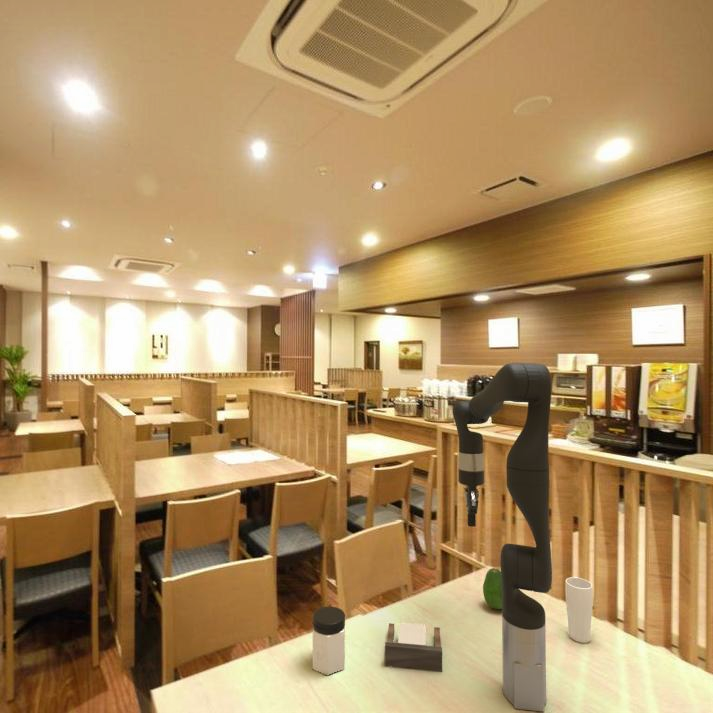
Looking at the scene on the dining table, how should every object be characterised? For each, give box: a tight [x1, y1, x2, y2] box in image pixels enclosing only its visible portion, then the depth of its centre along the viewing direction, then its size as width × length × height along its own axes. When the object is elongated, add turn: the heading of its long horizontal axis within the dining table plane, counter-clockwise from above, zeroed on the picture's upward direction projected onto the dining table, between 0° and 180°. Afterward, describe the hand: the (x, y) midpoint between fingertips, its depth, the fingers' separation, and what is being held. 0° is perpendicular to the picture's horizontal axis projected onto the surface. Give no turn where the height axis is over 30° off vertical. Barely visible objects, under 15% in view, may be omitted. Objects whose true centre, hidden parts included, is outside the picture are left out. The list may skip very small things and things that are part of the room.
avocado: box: [482, 567, 502, 610], centre depth 134 cm, size 8×8×12 cm
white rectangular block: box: [397, 621, 427, 646], centre depth 114 cm, size 9×7×5 cm
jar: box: [312, 606, 346, 676], centre depth 109 cm, size 9×8×12 cm
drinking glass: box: [564, 576, 594, 644], centre depth 120 cm, size 7×7×15 cm
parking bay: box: [384, 623, 443, 673], centre depth 114 cm, size 14×14×5 cm
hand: (471, 525), depth 130 cm, fingers closed
